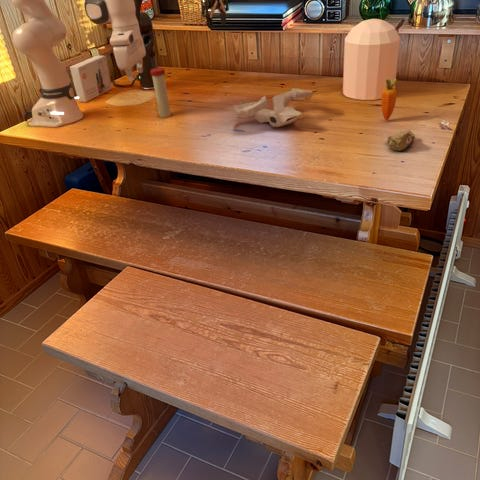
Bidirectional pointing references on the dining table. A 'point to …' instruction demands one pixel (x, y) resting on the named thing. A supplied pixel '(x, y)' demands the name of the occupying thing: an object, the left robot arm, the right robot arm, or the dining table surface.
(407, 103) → the dining table surface
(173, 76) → the dining table surface
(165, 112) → the jar
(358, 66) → the container
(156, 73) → the lid
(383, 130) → the dining table surface
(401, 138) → the rock
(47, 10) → the left robot arm
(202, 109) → the dining table surface
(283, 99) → the animal horns
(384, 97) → the carrot
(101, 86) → the skincare box
